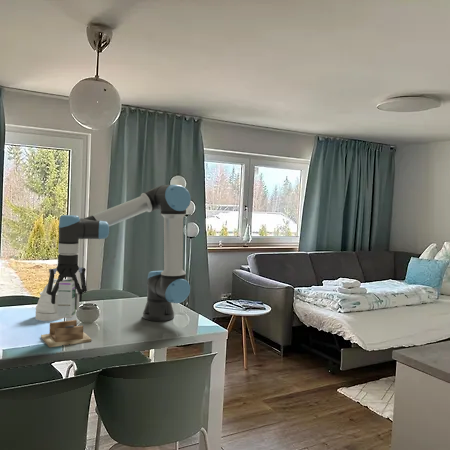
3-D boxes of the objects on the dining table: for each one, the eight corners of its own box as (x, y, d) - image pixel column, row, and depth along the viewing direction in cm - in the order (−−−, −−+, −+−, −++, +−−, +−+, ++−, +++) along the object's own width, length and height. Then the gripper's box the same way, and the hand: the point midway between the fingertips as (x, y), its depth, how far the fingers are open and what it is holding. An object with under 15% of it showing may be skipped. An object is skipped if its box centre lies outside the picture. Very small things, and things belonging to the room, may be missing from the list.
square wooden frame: (81, 332, 184) (81, 316, 184) (91, 341, 173) (91, 324, 172) (41, 337, 175) (41, 321, 175) (49, 347, 164) (49, 330, 163)
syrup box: (71, 318, 171) (72, 281, 170) (56, 317, 170) (57, 281, 170) (75, 314, 176) (76, 279, 176) (60, 314, 176) (62, 278, 175)
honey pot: (50, 312, 213) (51, 276, 213) (70, 316, 208) (71, 279, 208) (29, 318, 202) (30, 280, 201) (50, 322, 197) (51, 283, 196)
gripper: (90, 252, 181) (89, 306, 182) (38, 253, 170) (36, 311, 171) (96, 254, 175) (94, 310, 176) (42, 255, 163) (41, 315, 164)
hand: (66, 310), depth 173 cm, fingers closed on syrup box, 8 cm apart
